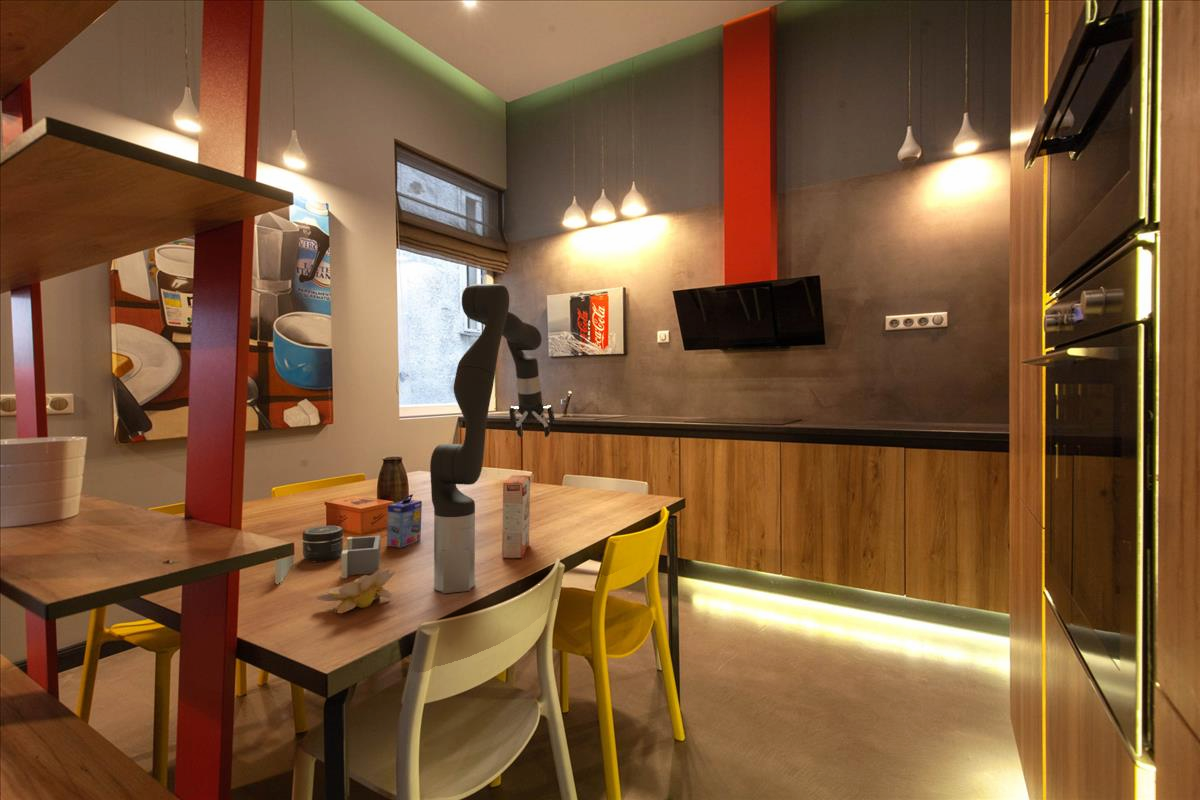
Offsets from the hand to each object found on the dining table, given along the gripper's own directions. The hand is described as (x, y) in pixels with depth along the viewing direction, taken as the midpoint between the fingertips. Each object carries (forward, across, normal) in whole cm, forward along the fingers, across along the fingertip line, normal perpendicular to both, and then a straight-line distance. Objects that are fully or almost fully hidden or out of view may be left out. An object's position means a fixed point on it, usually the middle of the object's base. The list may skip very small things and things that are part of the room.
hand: (534, 436), depth 185 cm
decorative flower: (+8, -22, -74) cm, 78 cm away
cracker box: (+21, +1, -34) cm, 40 cm away
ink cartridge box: (+22, -35, -30) cm, 51 cm away
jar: (+16, -50, -46) cm, 70 cm away
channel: (+13, -41, -55) cm, 70 cm away
